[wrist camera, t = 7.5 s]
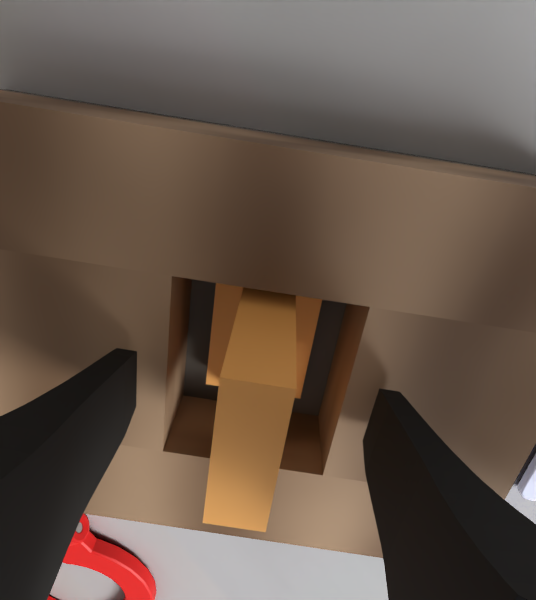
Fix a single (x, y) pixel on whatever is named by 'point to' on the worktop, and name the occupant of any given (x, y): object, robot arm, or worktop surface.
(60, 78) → the worktop surface
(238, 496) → the orange t-shaped beam
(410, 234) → the well board
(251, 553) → the worktop surface
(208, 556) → the worktop surface
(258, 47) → the worktop surface
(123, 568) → the tow hook
